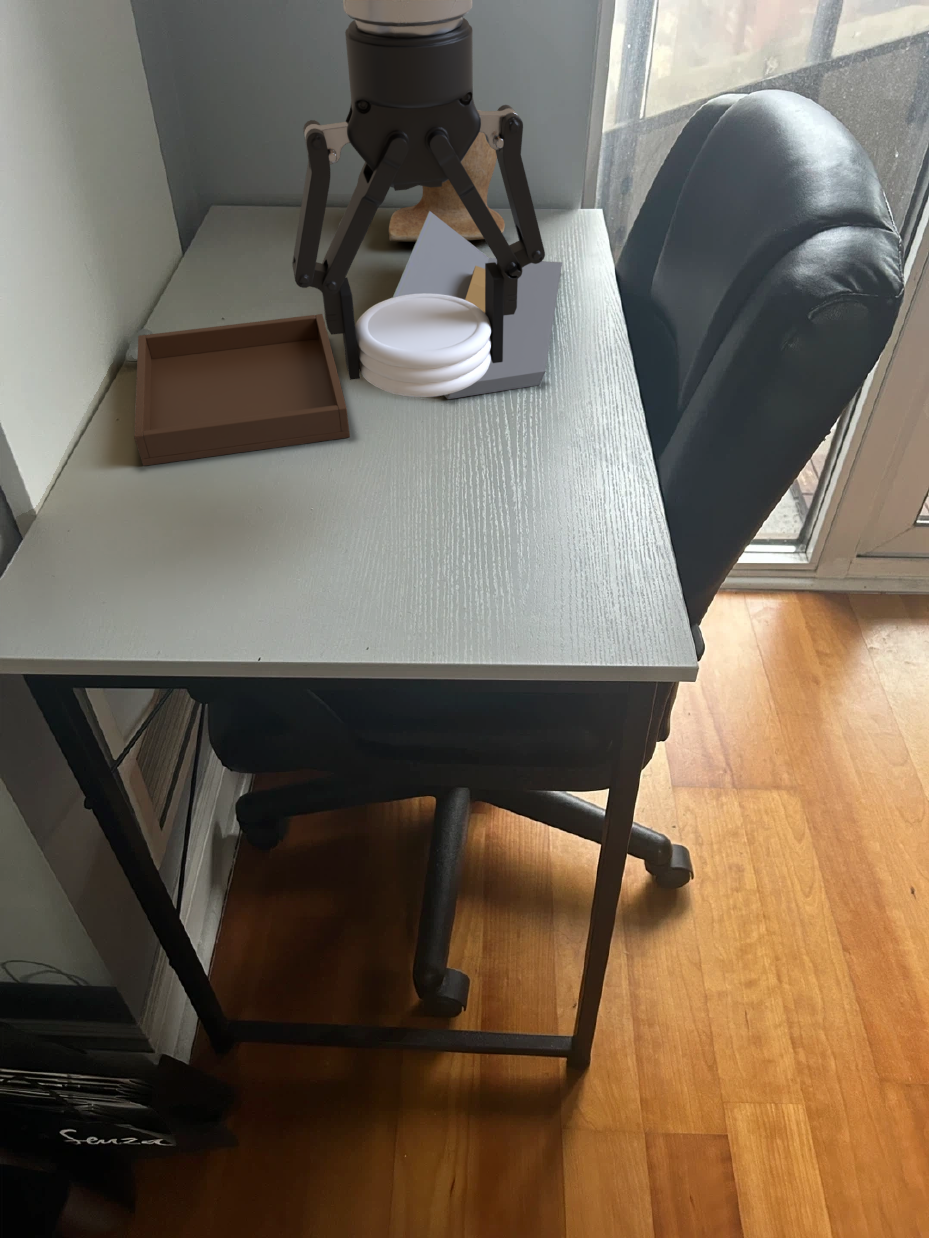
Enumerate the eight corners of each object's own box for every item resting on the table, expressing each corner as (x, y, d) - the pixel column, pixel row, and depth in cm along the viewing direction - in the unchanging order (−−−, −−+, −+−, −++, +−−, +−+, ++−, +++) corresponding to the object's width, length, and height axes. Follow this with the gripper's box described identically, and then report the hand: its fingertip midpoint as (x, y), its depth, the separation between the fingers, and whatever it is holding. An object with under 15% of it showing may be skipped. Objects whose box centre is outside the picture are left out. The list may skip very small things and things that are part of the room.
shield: (525, 429, 97) (548, 296, 118) (544, 386, 93) (564, 257, 114) (367, 371, 95) (418, 246, 116) (380, 326, 91) (430, 205, 112)
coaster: (339, 391, 68) (333, 347, 66) (382, 326, 75) (378, 284, 73) (472, 408, 66) (472, 363, 64) (504, 340, 73) (504, 298, 71)
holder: (143, 466, 88) (133, 436, 86) (145, 363, 102) (138, 335, 100) (350, 437, 91) (346, 408, 89) (325, 341, 105) (322, 313, 103)
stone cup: (500, 214, 130) (501, 94, 119) (507, 250, 121) (509, 124, 111) (390, 217, 129) (382, 97, 119) (389, 254, 121) (380, 128, 110)
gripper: (575, -7, 59) (555, 322, 75) (211, 16, 56) (269, 354, 72) (613, 22, 54) (583, 369, 70) (213, 48, 51) (276, 406, 67)
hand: (424, 362), depth 71 cm, fingers closed on coaster, 10 cm apart
